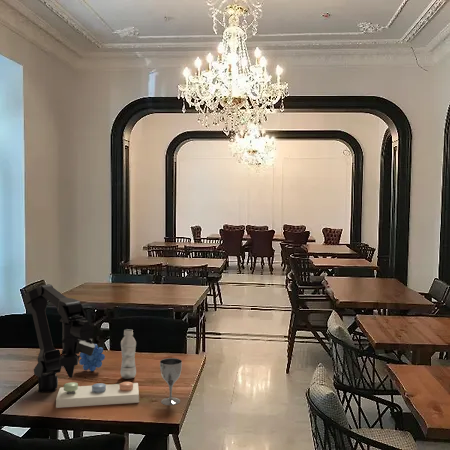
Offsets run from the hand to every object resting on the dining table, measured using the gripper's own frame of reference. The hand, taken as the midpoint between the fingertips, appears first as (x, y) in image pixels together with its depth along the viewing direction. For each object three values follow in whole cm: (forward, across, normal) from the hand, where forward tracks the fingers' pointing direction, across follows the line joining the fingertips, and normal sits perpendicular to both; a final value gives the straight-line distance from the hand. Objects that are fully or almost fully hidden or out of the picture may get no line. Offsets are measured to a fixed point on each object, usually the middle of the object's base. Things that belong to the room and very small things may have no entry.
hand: (70, 377), depth 187 cm
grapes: (+9, +33, -6) cm, 35 cm away
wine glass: (+9, -7, -36) cm, 38 cm away
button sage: (+7, 0, 0) cm, 7 cm away
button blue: (+8, 0, -10) cm, 13 cm away
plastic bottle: (+9, +21, -21) cm, 31 cm away
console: (+9, 0, -10) cm, 13 cm away
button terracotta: (+8, 0, -20) cm, 22 cm away
